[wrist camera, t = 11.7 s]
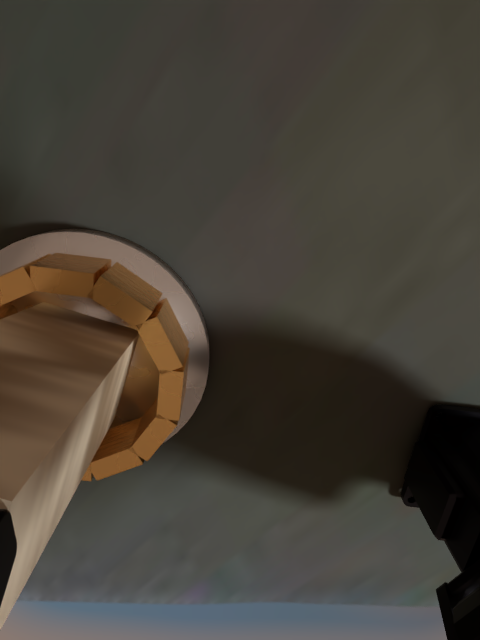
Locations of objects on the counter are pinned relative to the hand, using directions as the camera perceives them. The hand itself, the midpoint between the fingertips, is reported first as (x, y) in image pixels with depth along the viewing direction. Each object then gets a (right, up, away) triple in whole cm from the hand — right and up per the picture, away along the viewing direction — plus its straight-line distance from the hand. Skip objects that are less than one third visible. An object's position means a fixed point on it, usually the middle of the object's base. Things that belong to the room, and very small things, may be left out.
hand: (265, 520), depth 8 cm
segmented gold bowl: (-8, +2, +14) cm, 16 cm away
